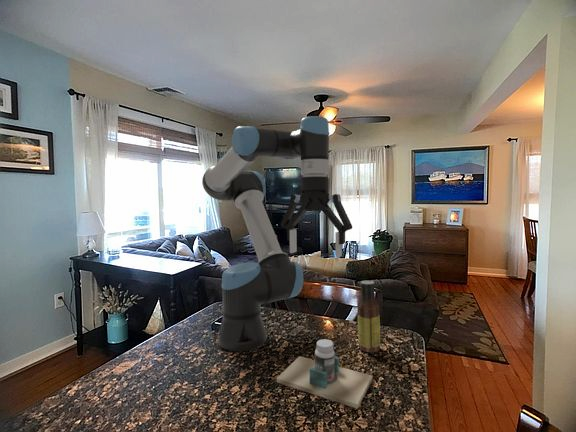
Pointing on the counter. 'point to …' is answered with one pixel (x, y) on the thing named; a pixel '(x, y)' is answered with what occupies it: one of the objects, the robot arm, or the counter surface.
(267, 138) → the robot arm
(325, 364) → the pill bottle
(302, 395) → the counter surface
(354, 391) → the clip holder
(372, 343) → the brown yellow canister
